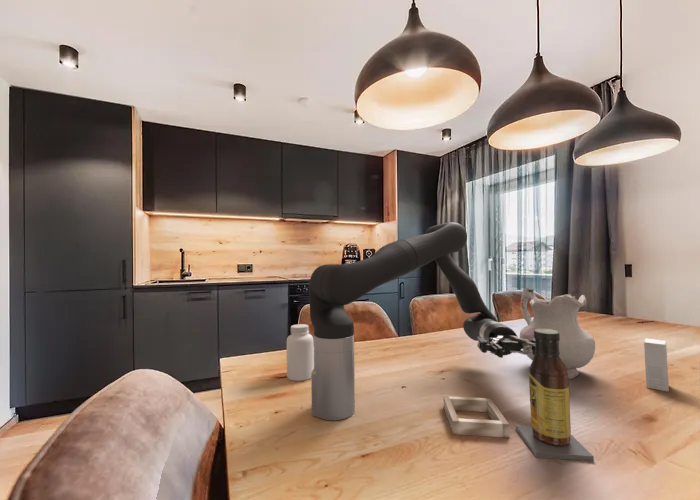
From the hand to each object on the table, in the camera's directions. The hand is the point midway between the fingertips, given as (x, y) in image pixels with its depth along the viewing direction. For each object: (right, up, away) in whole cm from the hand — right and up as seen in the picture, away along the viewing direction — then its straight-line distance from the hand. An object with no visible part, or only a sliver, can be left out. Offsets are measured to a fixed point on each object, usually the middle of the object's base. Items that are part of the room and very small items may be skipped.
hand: (521, 353), depth 69 cm
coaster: (-1, -13, -12) cm, 17 cm away
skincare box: (+44, -14, +14) cm, 48 cm away
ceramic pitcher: (+24, -14, +27) cm, 39 cm away
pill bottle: (-53, -15, +24) cm, 60 cm away
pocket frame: (-12, -13, -3) cm, 18 cm away
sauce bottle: (-1, -12, -11) cm, 17 cm away
